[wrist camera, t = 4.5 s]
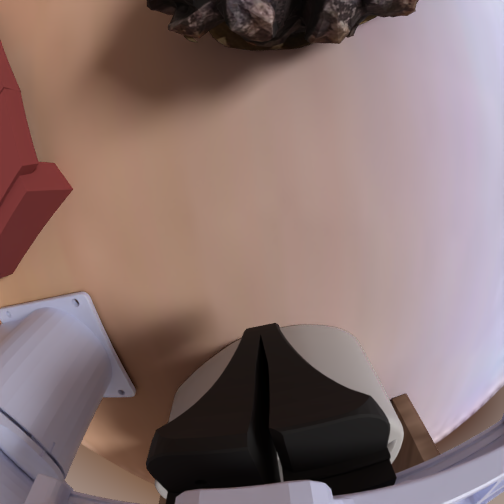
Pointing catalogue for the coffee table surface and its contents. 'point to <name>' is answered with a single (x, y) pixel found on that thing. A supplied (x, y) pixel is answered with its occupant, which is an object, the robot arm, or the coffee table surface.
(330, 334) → the lumpy-topped squat cylinder
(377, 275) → the coffee table surface
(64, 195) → the carton
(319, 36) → the pine cone
